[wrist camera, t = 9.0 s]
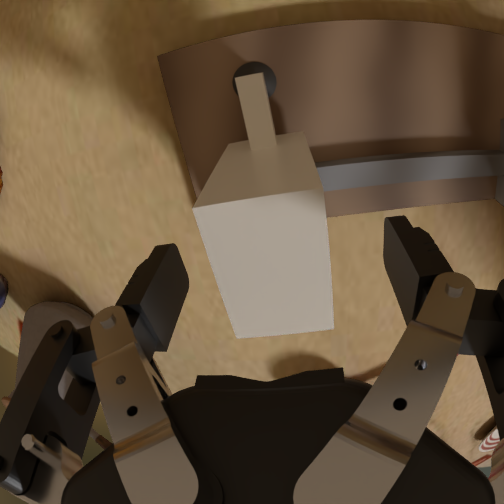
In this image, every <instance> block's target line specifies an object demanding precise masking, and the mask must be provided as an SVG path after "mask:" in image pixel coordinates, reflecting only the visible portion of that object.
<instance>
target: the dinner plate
mask: <svg viewBox="0 0 504 504" xmlns="http://www.w3.org/2000/svg"><path fill="white" fill-rule="evenodd" d="M499 442H500V439H499V434H498V430H497V426H495V427H494V428H493V429H492V430H491V431H490V432H489V433H488V434H487V436H486V437H485V438H484V439H483V441H482V442H481V444H480V445H479V450H480V451H483V452H485V451H491V450H494V449H495V447H496V445H497V444H498V443H499Z"/></svg>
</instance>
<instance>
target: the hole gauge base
mask: <svg viewBox="0 0 504 504" xmlns="http://www.w3.org/2000/svg"><path fill="white" fill-rule="evenodd" d="M157 57H158V61H159V65H160V69H161V73H162V77H163V81H164V84H165V88H166V92H167V96H168V99H169V103H170V107H171V110H172V114H173V118H174V121H175V125H176V128H177V132H178V136H179V139H180V143H181V146H182V150H183V153H184V157H185V160H186V163H187V167H188V170H189V174H190V177H191V180H192V184H193V187H194V190H195V194H196V197H197V199H198V197H199V195H200V193H201V191H202V190H203V188H204V186H205V184H206V182H207V181H208V179H209V177H210V175H211V174H212V172H213V170H214V168H215V167H216V165H217V163H218V161H219V160H220V158H221V156H222V154H223V153H224V151H225V149H226V148H227V146H228V144H230V143H235V142H241V141H246V140H249V139H248V134H247V130H246V125H245V121H244V117H243V112H242V108H241V103H240V99H239V94H238V90H237V86H236V81H235V78H237V77H241V76H246V75H251V74H256V73H262V72H263V75H264V80H265V84H266V89H267V94H268V99H269V104H270V108H271V113H272V118H273V123H274V129H275V134H276V135H282V134H288V133H295V132H302V131H303V133H304V135H305V138H306V141H307V143H308V146H309V149H310V152H311V154H312V157H313V160H314V163H315V166H316V168H317V171H318V174H319V177H320V180H321V183H322V186H323V191H324V199H325V209H326V218H327V217H335V216H343V215H351V214H359V213H367V212H376V211H384V210H392V209H401V208H410V207H419V206H428V205H437V204H447V203H456V202H466V201H476V200H487V199H496V200H497V201H498V202H499V203H500V204H501V205H503V206H504V35H501V34H497V33H492V32H488V31H483V30H478V29H472V28H467V27H460V26H454V25H447V24H438V23H429V22H418V21H402V20H341V21H325V22H313V23H303V24H294V25H287V26H279V27H273V28H267V29H261V30H255V31H250V32H245V33H240V34H235V35H230V36H226V37H222V38H218V39H214V40H210V41H206V42H202V43H198V44H195V45H191V46H188V47H184V48H181V49H178V50H174V51H171V52H168V53H165V54H162V55H159V56H157Z"/></svg>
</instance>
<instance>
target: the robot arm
mask: <svg viewBox="0 0 504 504" xmlns="http://www.w3.org/2000/svg"><path fill="white" fill-rule="evenodd" d="M383 257H384V265H385V269H386V271H387V274H388V277H389V279H390V282H391V284H392V287H393V289H394V292H395V295H396V297H397V300H398V303H399V306H400V308H401V311H402V314H403V317H404V320H405V322H406V325H407V328H406V330H405V332H404V334H403V335H402V337H401V339H400V341H399V343H398V344H397V346H396V348H395V350H394V351H393V353H392V355H391V357H390V358H389V360H388V362H387V363H386V365H385V367H384V368H383V370H382V372H381V373H380V375H379V376H378V378H377V380H376V381H375V383H374V384H373V386H372V385H370V384H368V383H365V382H362V381H359V380H354V379H349V378H344V372H343V367H342V368H334V369H324V370H314V371H305V372H302V373H298V374H295V375H292V376H288V377H284V378H281V379H277V380H274V381H269V382H263V381H258V380H252V379H247V378H242V377H237V376H232V375H197V379H196V383H195V386H192V387H189V388H186V389H183V390H181V391H178V392H176V393H174V394H173V395H172V393H171V391H170V389H169V387H168V385H167V383H166V381H165V379H164V377H163V375H162V373H161V371H160V369H159V367H158V365H157V363H156V361H155V360H154V358H153V354H154V352H155V351H162V352H167V349H168V346H169V343H170V340H171V337H172V334H173V331H174V328H175V326H176V323H177V320H178V317H179V314H180V312H181V309H182V306H183V303H184V300H185V298H186V295H187V292H188V289H189V278H188V274H187V272H186V269H185V266H184V264H183V261H182V258H181V256H180V253H179V250H178V248H177V246H176V245H175V244H174V243H172V244H165V245H158V246H155V248H154V249H153V251H152V253H151V254H150V256H149V258H148V259H146V260H145V261H144V262H142V263H141V264H140V265H139V266H138V267H137V268H136V270H135V272H134V273H133V275H132V277H131V279H130V280H129V282H128V284H127V285H126V287H125V289H124V291H123V292H122V294H121V296H120V298H119V299H118V301H117V303H116V305H115V306H110V307H107V308H105V309H103V310H101V311H100V312H98V313H97V314H96V315H95V316H94V318H93V319H92V321H91V324H90V326H87V327H84V328H80V329H77V330H76V328H75V327H74V325H73V324H72V322H71V321H69V320H62V321H59V322H57V323H55V324H54V325H52V326H51V327H50V328H49V329H48V330H47V332H46V333H45V335H44V337H43V339H42V340H41V342H40V344H39V346H38V347H37V349H36V351H35V353H34V355H33V356H32V358H31V360H30V362H29V364H28V366H27V368H26V370H25V372H24V373H23V375H22V377H21V379H20V381H19V383H18V385H17V387H16V389H15V392H14V394H13V396H12V398H11V400H10V402H9V404H8V406H7V409H6V411H5V413H4V415H3V418H2V420H1V422H0V487H2V488H4V489H5V490H7V491H9V492H10V493H11V494H12V495H14V496H16V497H18V498H20V499H22V500H24V501H26V502H28V503H30V504H504V279H503V280H501V281H500V283H499V285H498V288H497V291H496V290H484V289H476V288H475V285H474V284H473V282H472V281H471V280H470V279H469V278H468V277H466V276H465V275H463V274H460V273H456V272H454V271H453V270H452V268H451V266H450V265H449V263H448V262H447V260H446V259H445V257H444V255H443V254H442V252H441V251H439V248H438V246H437V245H436V244H435V242H434V240H433V239H432V237H431V236H430V235H429V233H427V232H426V231H424V230H423V229H421V228H420V227H415V228H413V227H412V225H411V224H410V222H409V221H408V219H407V218H406V216H404V215H403V216H394V217H386V218H385V221H384V249H383ZM457 354H463V355H476V358H477V361H478V363H479V366H480V369H481V372H482V376H483V379H484V382H485V385H486V388H487V392H488V395H489V399H490V402H491V406H492V410H493V413H494V417H495V421H496V426H497V430H498V434H499V439H500V442H499V443H498V444H497V445H496V447H495V449H494V451H493V454H492V459H491V473H490V476H489V478H487V477H486V475H485V474H484V473H483V472H481V471H480V470H479V469H478V468H477V467H475V466H474V465H473V464H471V463H470V462H469V461H468V460H466V459H465V458H464V457H463V456H461V455H460V454H459V453H458V452H456V451H455V450H454V449H453V448H451V447H450V446H449V445H448V444H446V443H445V442H444V441H443V440H442V439H440V438H439V437H438V436H437V435H435V434H434V433H433V432H432V431H430V430H429V429H428V428H427V427H426V426H427V424H428V422H429V420H430V418H431V416H432V414H433V412H434V410H435V408H436V405H437V403H438V401H439V399H440V397H441V394H442V392H443V390H444V387H445V385H446V383H447V380H448V378H449V375H450V373H451V370H452V367H453V365H454V362H455V360H456V357H457ZM65 369H66V370H67V371H68V373H69V374H70V375H71V376H72V377H73V379H72V381H71V383H70V386H69V388H68V391H67V393H66V395H65V398H64V400H63V399H62V398H61V397H60V395H59V392H58V386H59V382H60V380H61V378H62V376H63V374H64V371H65ZM100 401H101V404H102V408H103V411H104V415H105V418H106V421H107V425H108V427H109V431H110V434H111V437H112V440H113V443H112V444H111V445H110V446H109V447H108V448H106V449H105V450H104V451H103V452H101V453H100V454H99V455H98V456H96V457H95V458H94V459H93V460H91V461H90V462H89V463H88V464H86V465H85V466H84V467H83V464H82V456H83V453H84V450H85V446H86V443H87V440H88V437H89V433H90V430H91V427H92V424H93V421H94V418H95V415H96V412H97V409H98V406H99V403H100Z"/></svg>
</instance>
